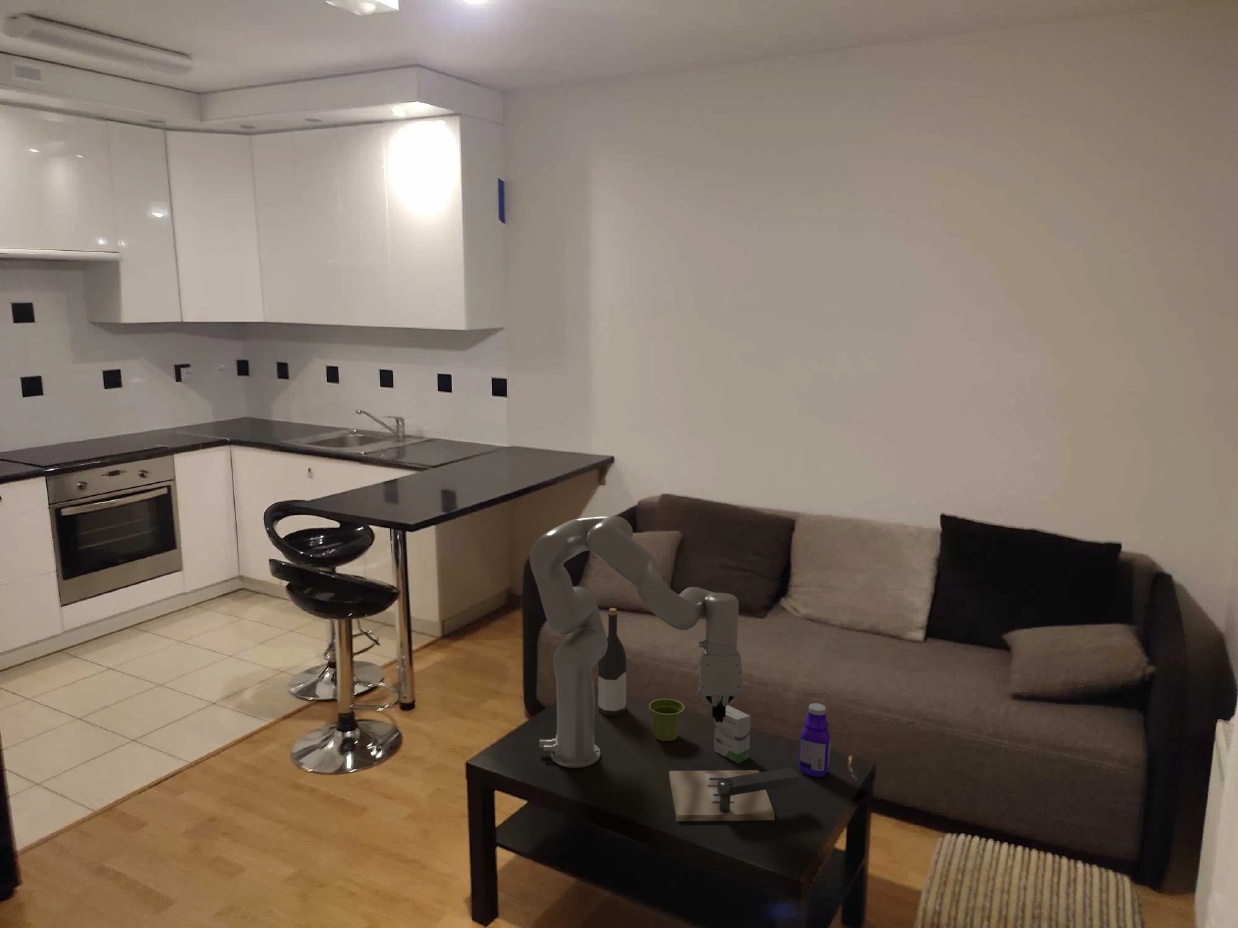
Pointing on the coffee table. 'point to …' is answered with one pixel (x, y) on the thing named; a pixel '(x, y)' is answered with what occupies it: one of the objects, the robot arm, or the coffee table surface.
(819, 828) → the coffee table surface
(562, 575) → the robot arm
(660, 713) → the plant pot
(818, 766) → the bottle
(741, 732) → the ink box
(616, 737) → the coffee table surface
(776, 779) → the swing bar
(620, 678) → the wine bottle
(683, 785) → the label board
